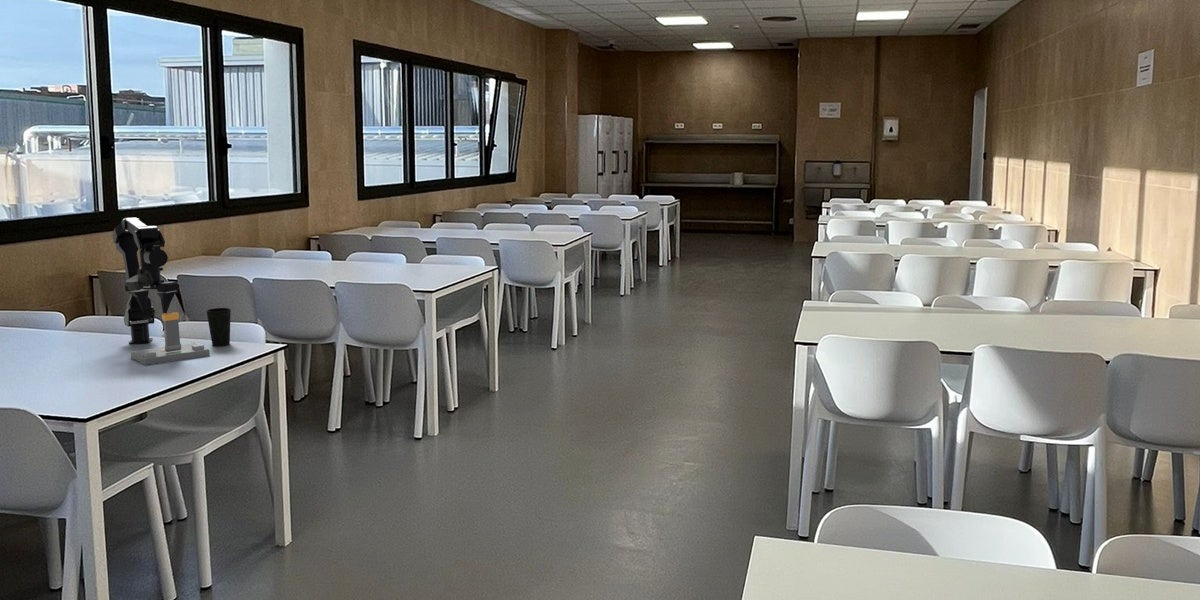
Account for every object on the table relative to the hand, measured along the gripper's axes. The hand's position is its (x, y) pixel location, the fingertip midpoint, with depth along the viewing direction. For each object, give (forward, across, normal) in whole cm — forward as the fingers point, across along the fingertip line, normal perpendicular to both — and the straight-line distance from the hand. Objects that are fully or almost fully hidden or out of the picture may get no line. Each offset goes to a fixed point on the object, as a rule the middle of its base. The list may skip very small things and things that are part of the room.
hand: (154, 312), depth 339 cm
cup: (+13, +11, +16) cm, 24 cm away
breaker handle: (+11, +12, -5) cm, 17 cm away
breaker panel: (+13, +9, -4) cm, 17 cm away
